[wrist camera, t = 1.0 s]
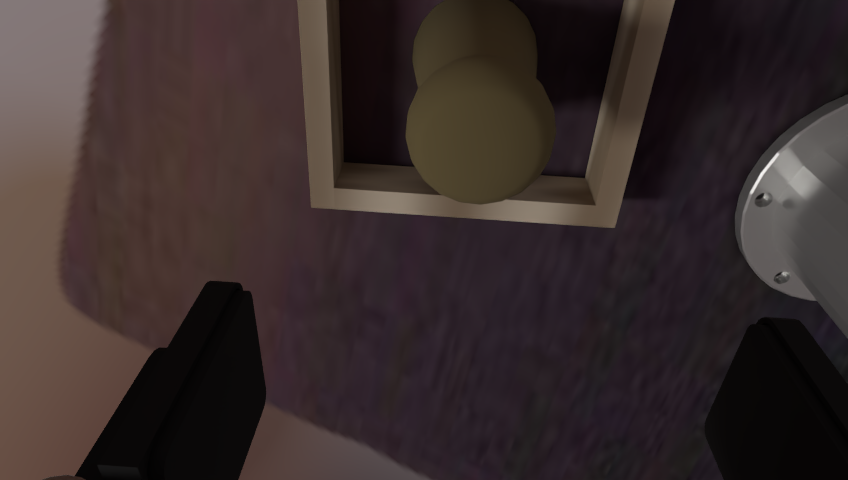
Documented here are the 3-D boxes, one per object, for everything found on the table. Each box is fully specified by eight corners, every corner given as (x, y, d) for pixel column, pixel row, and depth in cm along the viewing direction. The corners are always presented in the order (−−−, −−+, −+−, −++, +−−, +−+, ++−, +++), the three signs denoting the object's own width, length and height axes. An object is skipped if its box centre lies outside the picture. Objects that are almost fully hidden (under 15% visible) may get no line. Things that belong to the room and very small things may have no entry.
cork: (488, -39, 26) (504, 15, 17) (562, 68, 28) (611, 167, 19) (386, 47, 28) (350, 137, 19) (462, 139, 31) (463, 259, 21)
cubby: (669, -73, 25) (692, -66, 22) (602, 199, 32) (614, 227, 29) (308, -95, 25) (291, -90, 23) (322, 180, 32) (311, 207, 30)
